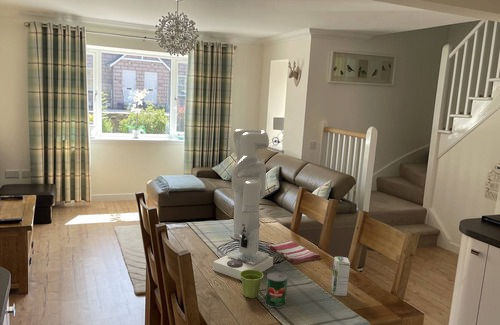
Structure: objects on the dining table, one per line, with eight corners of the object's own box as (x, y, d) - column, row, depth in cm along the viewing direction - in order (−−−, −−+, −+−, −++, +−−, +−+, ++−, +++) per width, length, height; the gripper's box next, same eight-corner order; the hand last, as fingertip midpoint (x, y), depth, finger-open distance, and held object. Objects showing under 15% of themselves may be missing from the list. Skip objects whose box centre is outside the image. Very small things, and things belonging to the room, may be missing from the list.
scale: (241, 255, 204) (242, 246, 204) (272, 265, 194) (273, 256, 194) (213, 270, 186) (213, 260, 186) (245, 281, 177) (246, 271, 176)
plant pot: (245, 302, 159) (246, 281, 158) (234, 291, 168) (235, 271, 166) (266, 298, 164) (267, 277, 162) (255, 287, 172) (256, 267, 170)
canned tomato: (270, 309, 155) (272, 281, 153) (261, 299, 162) (263, 273, 160) (289, 306, 158) (291, 278, 156) (279, 296, 165) (281, 270, 164)
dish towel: (294, 265, 197) (294, 259, 197) (266, 248, 217) (266, 243, 216) (320, 259, 206) (321, 254, 206) (291, 243, 226) (291, 238, 225)
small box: (258, 250, 194) (259, 228, 192) (255, 254, 189) (257, 232, 187) (241, 247, 196) (243, 226, 194) (238, 252, 191) (239, 230, 189)
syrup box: (330, 288, 174) (333, 256, 171) (344, 289, 174) (347, 257, 171) (332, 295, 168) (335, 261, 166) (347, 296, 168) (350, 262, 166)
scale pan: (243, 248, 202) (243, 246, 202) (269, 256, 194) (269, 254, 194) (227, 256, 191) (227, 253, 191) (253, 264, 183) (254, 262, 183)
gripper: (254, 202, 198) (252, 237, 201) (232, 210, 184) (231, 248, 187) (268, 205, 194) (265, 241, 197) (246, 213, 180) (244, 252, 183)
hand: (248, 244), depth 192 cm, fingers closed on small box, 7 cm apart
